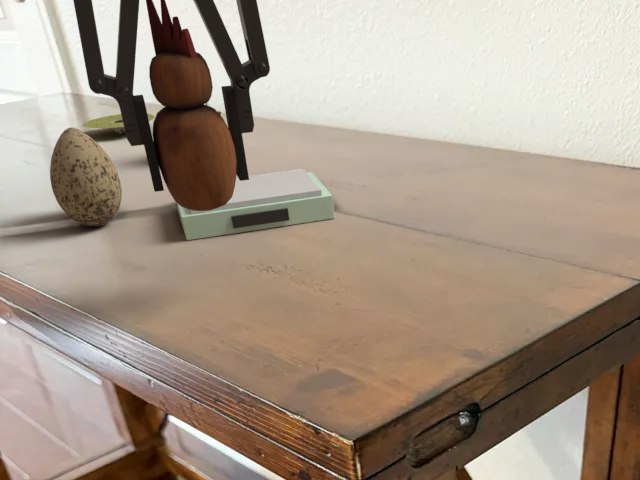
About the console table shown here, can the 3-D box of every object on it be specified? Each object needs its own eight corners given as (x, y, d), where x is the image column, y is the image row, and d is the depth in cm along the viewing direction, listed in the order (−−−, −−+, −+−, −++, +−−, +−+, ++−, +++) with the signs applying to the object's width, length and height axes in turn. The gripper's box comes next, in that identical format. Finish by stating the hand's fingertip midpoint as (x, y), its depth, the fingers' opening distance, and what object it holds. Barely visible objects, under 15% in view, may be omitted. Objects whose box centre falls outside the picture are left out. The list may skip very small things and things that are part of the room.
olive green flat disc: (72, 136, 131) (68, 123, 130) (131, 122, 137) (128, 110, 136) (111, 144, 125) (107, 130, 123) (171, 129, 131) (168, 115, 130)
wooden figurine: (157, 203, 69) (109, -7, 60) (219, 190, 72) (182, -14, 63) (189, 222, 65) (143, -2, 56) (253, 207, 67) (219, -11, 58)
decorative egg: (56, 225, 92) (26, 129, 86) (117, 211, 95) (91, 117, 89) (77, 240, 87) (46, 139, 81) (140, 224, 90) (115, 126, 84)
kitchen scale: (187, 241, 85) (180, 211, 83) (178, 212, 93) (172, 185, 92) (335, 219, 88) (332, 190, 86) (314, 193, 97) (310, 166, 95)
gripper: (-35, -194, 48) (80, 209, 62) (284, -204, 52) (323, 178, 66) (-22, -183, 54) (81, 184, 68) (265, -192, 58) (304, 157, 72)
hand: (200, 181), depth 67 cm, fingers closed on wooden figurine, 6 cm apart
